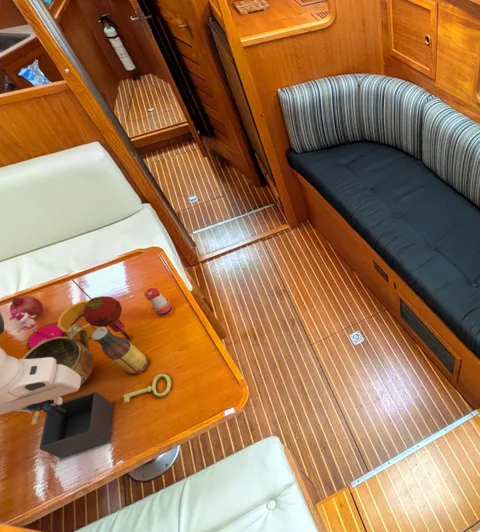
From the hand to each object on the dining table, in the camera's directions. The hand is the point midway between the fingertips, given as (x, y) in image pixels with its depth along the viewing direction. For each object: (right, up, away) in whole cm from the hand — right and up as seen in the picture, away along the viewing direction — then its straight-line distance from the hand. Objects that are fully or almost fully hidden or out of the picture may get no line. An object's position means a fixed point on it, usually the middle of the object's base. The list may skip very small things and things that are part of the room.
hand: (47, 406), depth 97 cm
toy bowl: (-18, +15, +35) cm, 43 cm away
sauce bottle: (+5, +3, +25) cm, 26 cm away
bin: (0, -11, +13) cm, 17 cm away
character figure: (0, -3, +4) cm, 5 cm away
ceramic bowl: (-13, 0, +23) cm, 26 cm away
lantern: (-2, +11, +32) cm, 34 cm away
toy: (+6, +18, +39) cm, 43 cm away
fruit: (-38, +17, +38) cm, 56 cm away
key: (+13, -3, +20) cm, 24 cm away
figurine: (-29, +11, +32) cm, 45 cm away
